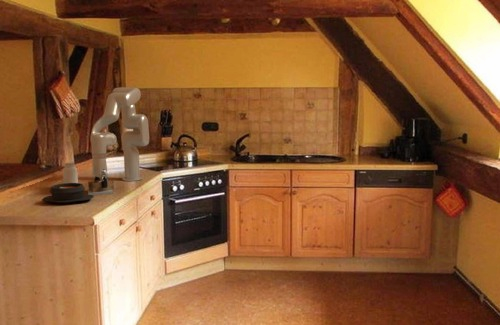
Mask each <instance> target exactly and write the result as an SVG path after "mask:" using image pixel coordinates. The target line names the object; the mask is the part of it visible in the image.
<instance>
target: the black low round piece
mask: <svg viewBox="0 0 500 325" xmlns="http://www.w3.org/2000/svg"><path fill="white" fill-rule="evenodd" d="M85 189H86V187H85V186H84V184H83V183H80V182H78V183H63V182H62V183H58V184H55V185H52V186H51V187H50V189H49V193H50V194H51V195H48V196H45V197H43V198H42V199H41V201H43V202H51V203H56V204H60V205H63V204H74V203H79V202H82V201H89V200H92V199H93V198H94V197H95V195H88V193H87V194H85V193H84V192H85Z"/></svg>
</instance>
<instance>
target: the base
mask: <svg viewBox="0 0 500 325" xmlns="http://www.w3.org/2000/svg"><path fill="white" fill-rule="evenodd" d="M99 182H101V181H99ZM113 194H114V190H107V191H100V192H92V191H89V188H87V195H93V196H97V195H98V196H99V195H101V196H102V195H113Z"/></svg>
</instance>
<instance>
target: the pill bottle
mask: <svg viewBox="0 0 500 325" xmlns="http://www.w3.org/2000/svg"><path fill="white" fill-rule="evenodd" d="M75 164H76V163H75V162H65V163H64V168H62V179H63V180H62V184H63V183H79V177H78V169H77V167H76V166H75Z"/></svg>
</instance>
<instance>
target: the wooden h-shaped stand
mask: <svg viewBox="0 0 500 325" xmlns="http://www.w3.org/2000/svg"><path fill="white" fill-rule="evenodd" d="M99 181H102V179H100V180H99ZM99 181H94V180H93V181H92V180H91V181H88V182H87V183H88V184H87V186H88V187H87V189H89V191H92V192H100V191H107V190H113V191H114V190H115V185H114V180H111V179H109V178H107V186H108V187H107V188H102V185H101V182H99Z"/></svg>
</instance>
